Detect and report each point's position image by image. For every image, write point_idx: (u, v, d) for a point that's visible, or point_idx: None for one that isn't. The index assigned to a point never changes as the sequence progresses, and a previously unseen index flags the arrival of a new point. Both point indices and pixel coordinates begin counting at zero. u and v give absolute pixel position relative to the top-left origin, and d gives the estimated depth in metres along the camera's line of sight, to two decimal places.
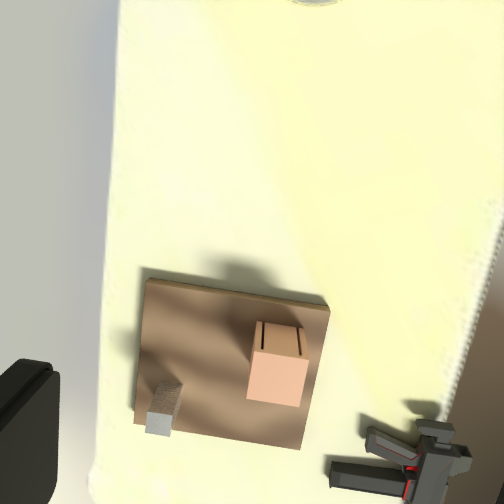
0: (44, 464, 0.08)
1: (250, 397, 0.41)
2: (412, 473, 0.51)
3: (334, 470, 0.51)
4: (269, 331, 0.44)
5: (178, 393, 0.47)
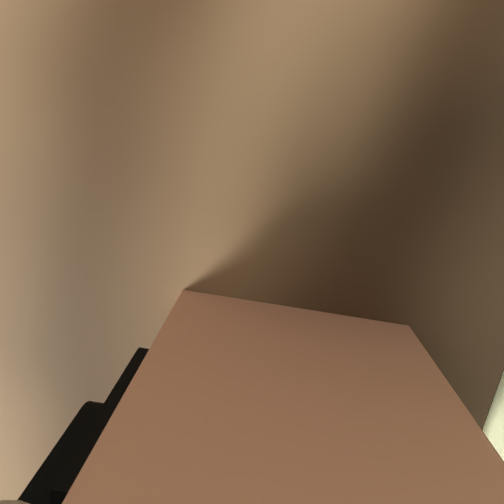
0: None
1: None
2: None
3: None
4: None
5: None
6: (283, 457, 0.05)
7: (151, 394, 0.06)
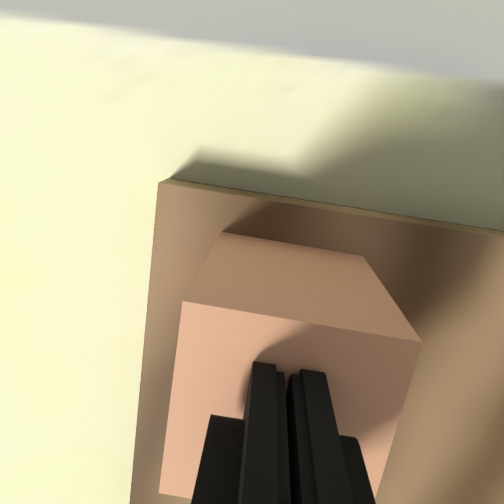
0: None
1: (190, 319, 0.09)
2: None
3: None
4: None
5: None
6: (282, 287, 0.11)
7: (216, 266, 0.12)
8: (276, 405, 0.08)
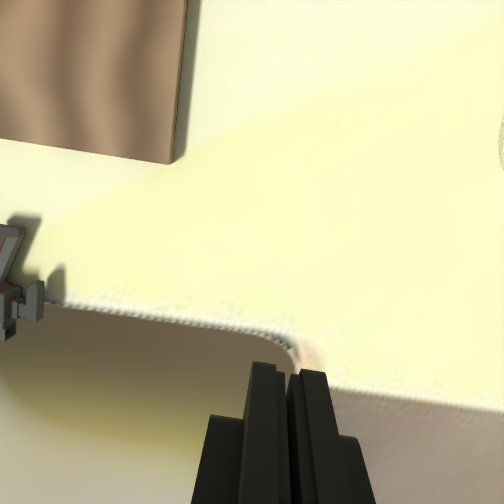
0: None
1: None
2: None
3: None
4: None
5: None
6: None
7: None
8: (275, 405, 0.08)
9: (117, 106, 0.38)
